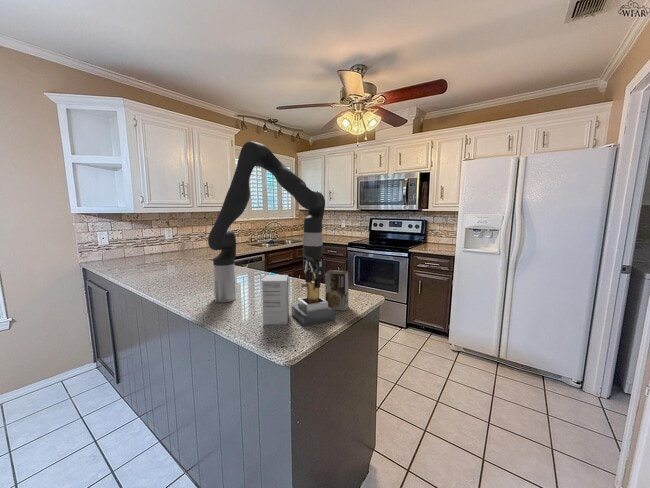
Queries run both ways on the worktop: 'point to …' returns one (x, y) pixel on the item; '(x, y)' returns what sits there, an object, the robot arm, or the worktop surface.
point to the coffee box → (337, 289)
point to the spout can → (311, 292)
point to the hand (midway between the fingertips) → (312, 284)
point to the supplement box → (275, 299)
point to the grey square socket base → (312, 312)
